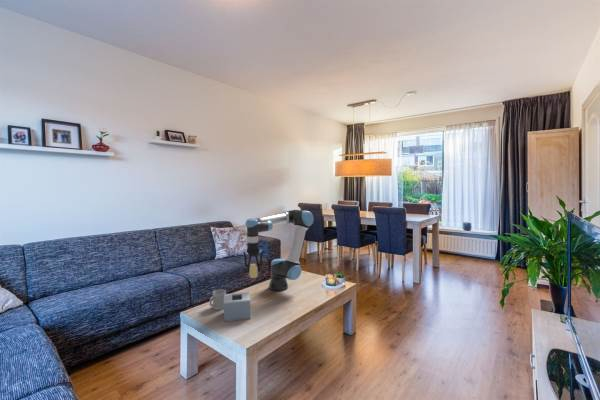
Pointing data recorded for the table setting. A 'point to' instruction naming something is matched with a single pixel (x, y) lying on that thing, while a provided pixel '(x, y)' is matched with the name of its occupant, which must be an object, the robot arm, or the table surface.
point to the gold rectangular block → (253, 270)
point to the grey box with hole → (237, 306)
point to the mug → (218, 299)
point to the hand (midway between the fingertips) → (253, 275)
